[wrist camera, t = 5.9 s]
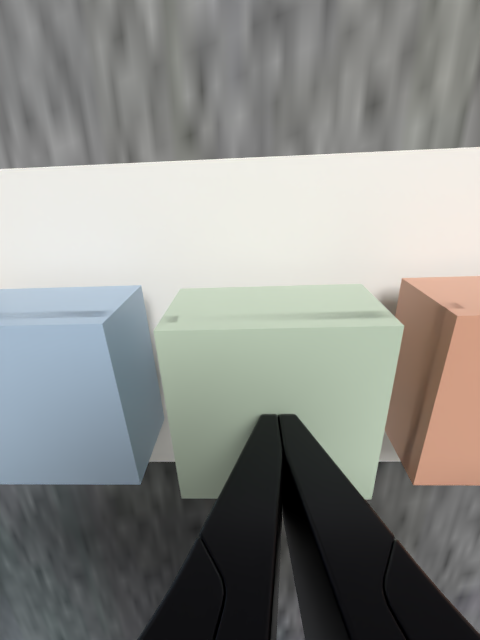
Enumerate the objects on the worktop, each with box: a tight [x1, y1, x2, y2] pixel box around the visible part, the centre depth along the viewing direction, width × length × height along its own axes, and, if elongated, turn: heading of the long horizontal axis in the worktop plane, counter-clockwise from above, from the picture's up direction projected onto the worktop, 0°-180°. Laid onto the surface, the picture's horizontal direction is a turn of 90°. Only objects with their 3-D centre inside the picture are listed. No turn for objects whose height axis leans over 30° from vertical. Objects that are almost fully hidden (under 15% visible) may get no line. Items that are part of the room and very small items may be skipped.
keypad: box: [0, 147, 480, 462], centre depth 10 cm, size 26×12×4 cm, turn 92°
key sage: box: [153, 284, 404, 499], centre depth 9 cm, size 5×5×3 cm
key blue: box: [0, 285, 164, 485], centre depth 10 cm, size 5×5×3 cm
